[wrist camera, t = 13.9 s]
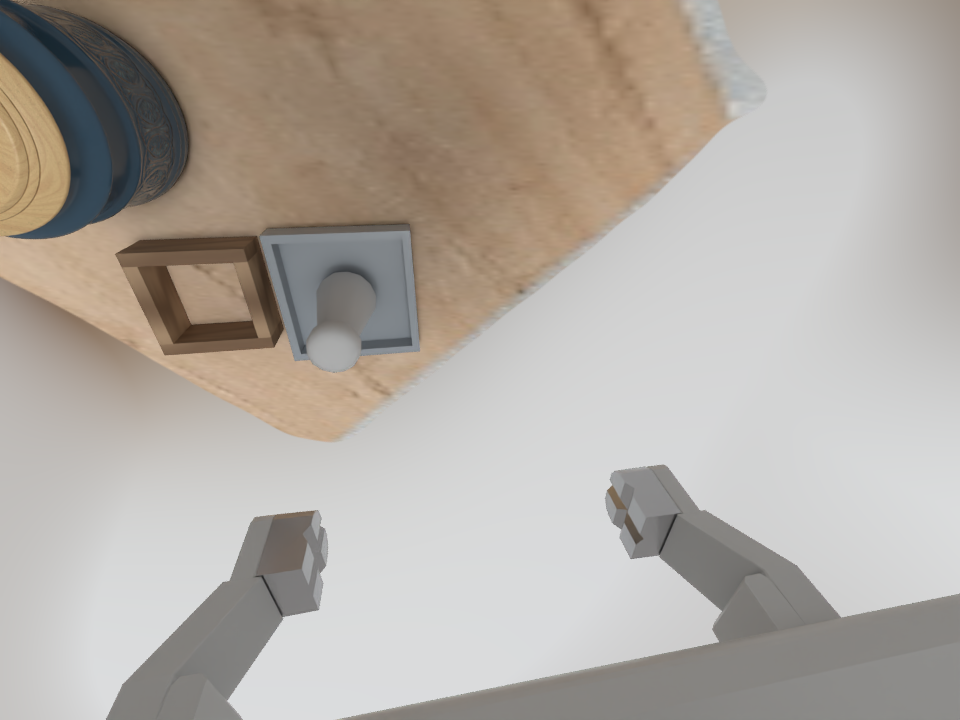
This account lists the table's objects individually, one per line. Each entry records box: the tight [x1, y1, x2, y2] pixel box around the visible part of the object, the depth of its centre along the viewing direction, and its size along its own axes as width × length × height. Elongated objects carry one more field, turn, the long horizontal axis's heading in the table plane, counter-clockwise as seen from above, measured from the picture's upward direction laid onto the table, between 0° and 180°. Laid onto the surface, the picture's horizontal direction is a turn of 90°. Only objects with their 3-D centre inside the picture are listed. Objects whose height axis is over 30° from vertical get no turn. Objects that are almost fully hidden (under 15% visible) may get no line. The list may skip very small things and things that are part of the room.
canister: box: [0, 0, 188, 239], centre depth 25 cm, size 13×13×18 cm
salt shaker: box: [306, 272, 376, 373], centre depth 37 cm, size 6×6×13 cm
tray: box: [259, 224, 420, 361], centre depth 42 cm, size 14×14×2 cm
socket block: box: [115, 236, 283, 355], centre depth 39 cm, size 10×10×4 cm
